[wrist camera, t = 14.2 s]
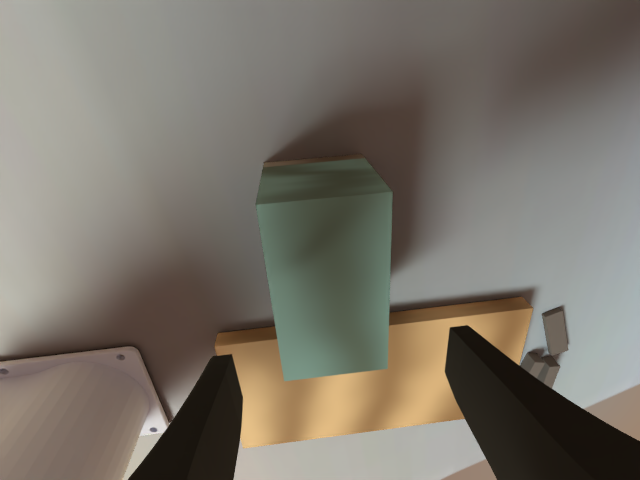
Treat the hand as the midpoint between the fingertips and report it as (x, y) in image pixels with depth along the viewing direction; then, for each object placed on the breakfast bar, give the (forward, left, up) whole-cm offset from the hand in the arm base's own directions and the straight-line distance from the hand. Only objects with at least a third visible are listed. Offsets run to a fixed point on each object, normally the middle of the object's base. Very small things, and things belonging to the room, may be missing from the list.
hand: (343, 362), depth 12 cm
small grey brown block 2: (+16, -14, -9) cm, 23 cm away
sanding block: (0, 0, -10) cm, 10 cm away
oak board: (+3, -11, -9) cm, 15 cm away
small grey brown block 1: (+16, -9, -9) cm, 21 cm away
